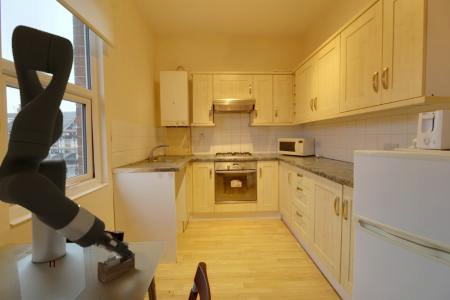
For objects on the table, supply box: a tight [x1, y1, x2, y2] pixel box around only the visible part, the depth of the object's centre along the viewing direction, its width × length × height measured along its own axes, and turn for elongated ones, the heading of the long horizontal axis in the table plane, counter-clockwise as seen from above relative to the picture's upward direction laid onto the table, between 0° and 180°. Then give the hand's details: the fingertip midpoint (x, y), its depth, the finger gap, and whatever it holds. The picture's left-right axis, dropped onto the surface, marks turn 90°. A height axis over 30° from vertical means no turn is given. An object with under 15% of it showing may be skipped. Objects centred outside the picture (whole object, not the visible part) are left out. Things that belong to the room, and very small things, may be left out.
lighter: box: [103, 240, 130, 269], centre depth 67 cm, size 7×2×8 cm, turn 149°
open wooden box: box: [97, 252, 136, 283], centre depth 67 cm, size 4×9×4 cm, turn 149°
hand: (121, 252), depth 68 cm, fingers open, 8 cm apart
